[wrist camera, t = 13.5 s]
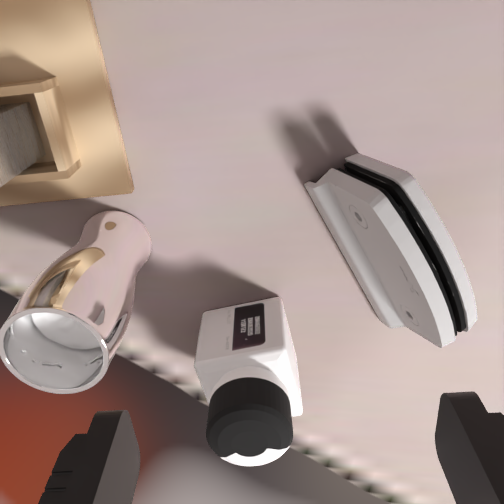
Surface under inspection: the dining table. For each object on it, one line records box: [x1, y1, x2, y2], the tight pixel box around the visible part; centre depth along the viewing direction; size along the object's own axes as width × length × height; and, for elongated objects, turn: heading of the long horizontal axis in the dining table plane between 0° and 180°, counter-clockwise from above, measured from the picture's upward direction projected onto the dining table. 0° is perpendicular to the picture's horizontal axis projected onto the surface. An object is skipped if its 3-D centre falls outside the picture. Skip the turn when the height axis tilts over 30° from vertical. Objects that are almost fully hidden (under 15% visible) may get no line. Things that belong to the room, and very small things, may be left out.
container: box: [194, 297, 303, 466], centre depth 40 cm, size 8×8×13 cm
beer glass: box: [0, 210, 152, 394], centre depth 35 cm, size 7×7×15 cm
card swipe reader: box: [304, 153, 477, 348], centre depth 38 cm, size 17×5×10 cm, turn 30°
